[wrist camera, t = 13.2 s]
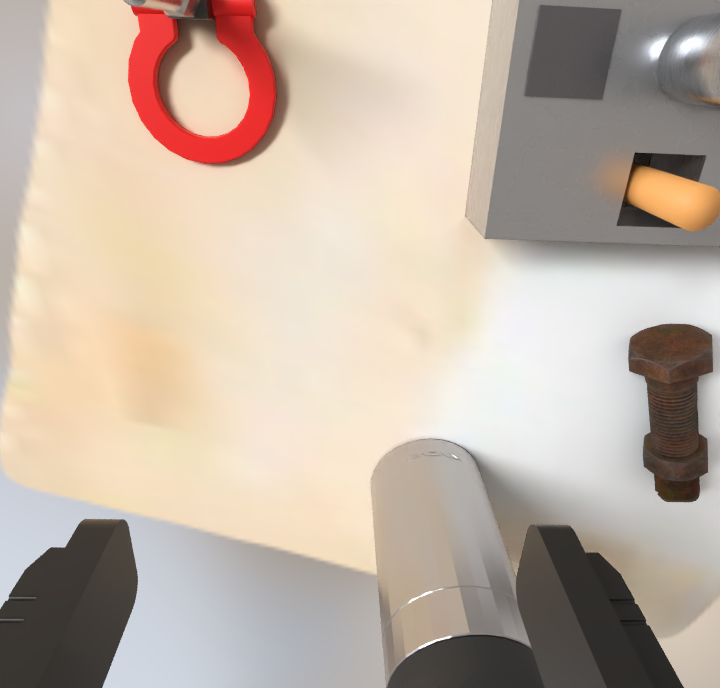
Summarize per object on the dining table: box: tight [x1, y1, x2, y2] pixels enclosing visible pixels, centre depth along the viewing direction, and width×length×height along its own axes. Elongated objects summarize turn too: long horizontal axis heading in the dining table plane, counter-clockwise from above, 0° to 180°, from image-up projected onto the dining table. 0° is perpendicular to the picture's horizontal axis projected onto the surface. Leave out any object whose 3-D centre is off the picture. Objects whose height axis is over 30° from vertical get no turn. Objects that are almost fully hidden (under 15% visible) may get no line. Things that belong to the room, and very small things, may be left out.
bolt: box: [628, 324, 713, 502], centre depth 42 cm, size 6×5×15 cm
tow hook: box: [124, 0, 277, 164], centre depth 27 cm, size 8×13×9 cm
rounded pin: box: [623, 162, 720, 231], centre depth 31 cm, size 2×2×10 cm
